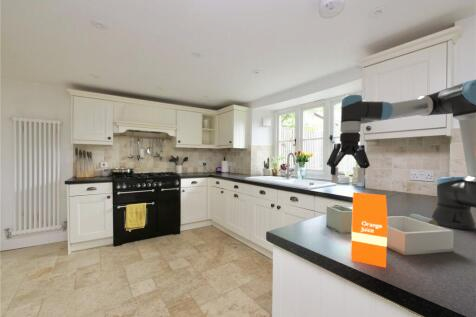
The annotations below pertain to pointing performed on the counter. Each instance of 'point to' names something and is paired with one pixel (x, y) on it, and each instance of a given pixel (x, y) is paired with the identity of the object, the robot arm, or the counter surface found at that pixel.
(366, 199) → the orange juice
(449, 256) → the counter surface
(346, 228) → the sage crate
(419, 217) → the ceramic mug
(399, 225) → the grey crate
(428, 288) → the counter surface
